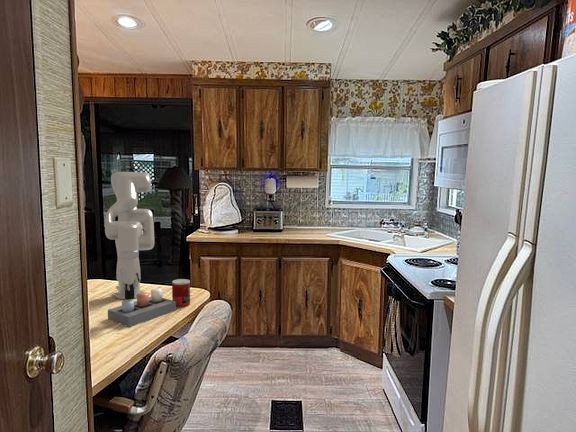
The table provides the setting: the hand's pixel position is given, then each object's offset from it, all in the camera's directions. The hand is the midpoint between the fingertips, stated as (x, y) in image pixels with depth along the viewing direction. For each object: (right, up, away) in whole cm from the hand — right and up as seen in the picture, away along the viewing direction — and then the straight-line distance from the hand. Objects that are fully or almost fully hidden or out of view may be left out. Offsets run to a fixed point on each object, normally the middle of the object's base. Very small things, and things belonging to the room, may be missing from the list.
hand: (129, 298), depth 156 cm
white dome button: (+7, -3, +11) cm, 13 cm away
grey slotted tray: (+3, -8, +5) cm, 10 cm away
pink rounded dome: (+4, -3, +5) cm, 7 cm away
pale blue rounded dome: (0, -5, -1) cm, 5 cm away
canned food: (+16, -7, +19) cm, 26 cm away
